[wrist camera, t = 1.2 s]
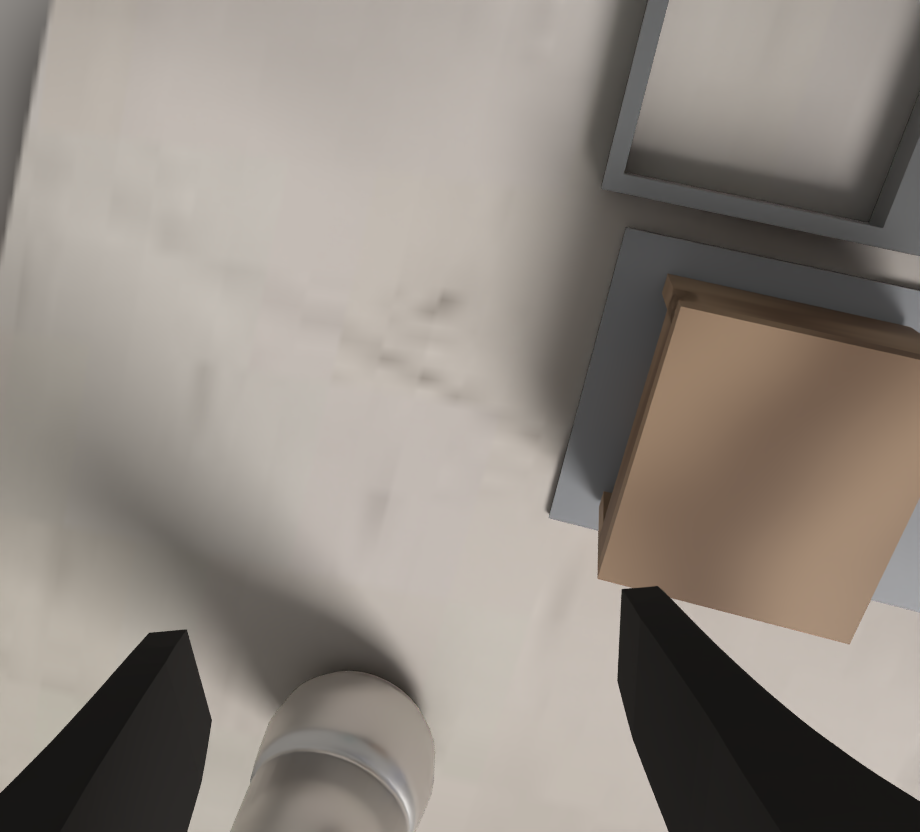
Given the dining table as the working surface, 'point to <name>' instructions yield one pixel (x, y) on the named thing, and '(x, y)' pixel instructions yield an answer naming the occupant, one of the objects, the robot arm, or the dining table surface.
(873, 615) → the dining table surface
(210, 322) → the dining table surface
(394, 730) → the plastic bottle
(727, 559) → the cardboard box
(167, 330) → the dining table surface
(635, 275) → the board
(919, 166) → the socket frames
